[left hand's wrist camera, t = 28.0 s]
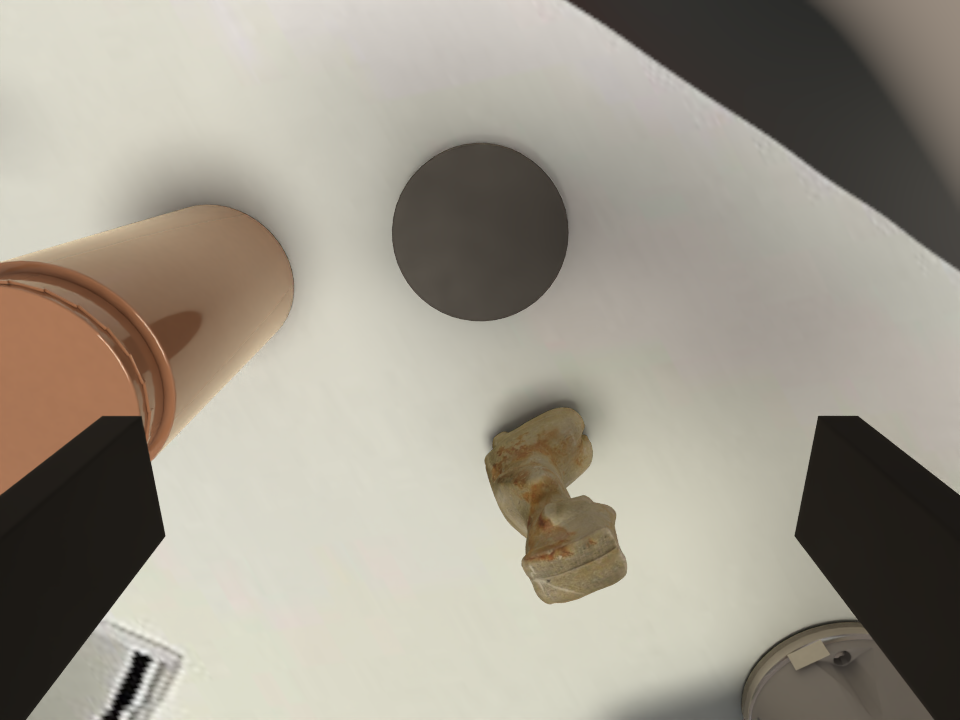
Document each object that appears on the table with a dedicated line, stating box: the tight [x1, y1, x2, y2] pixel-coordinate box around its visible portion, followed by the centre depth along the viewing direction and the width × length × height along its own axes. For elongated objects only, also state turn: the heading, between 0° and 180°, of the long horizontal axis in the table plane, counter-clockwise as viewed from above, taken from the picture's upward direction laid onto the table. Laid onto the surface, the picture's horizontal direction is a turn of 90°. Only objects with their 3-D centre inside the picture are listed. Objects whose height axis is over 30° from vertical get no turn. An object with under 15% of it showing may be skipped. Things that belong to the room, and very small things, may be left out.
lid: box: [392, 143, 568, 321], centre depth 40 cm, size 11×11×2 cm
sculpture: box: [485, 408, 627, 604], centre depth 39 cm, size 6×7×15 cm
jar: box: [0, 205, 294, 495], centre depth 33 cm, size 10×10×20 cm
